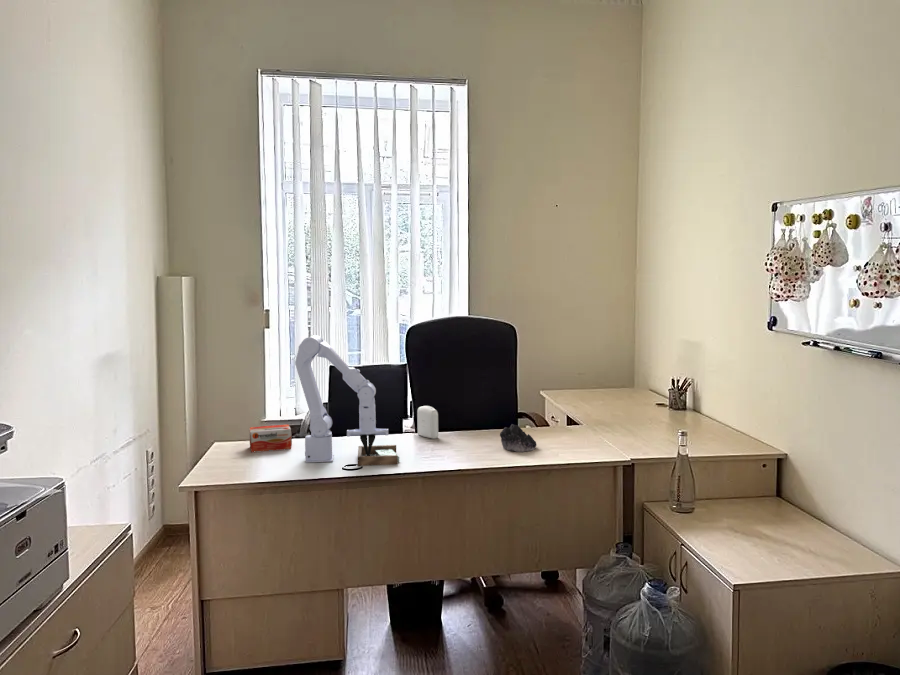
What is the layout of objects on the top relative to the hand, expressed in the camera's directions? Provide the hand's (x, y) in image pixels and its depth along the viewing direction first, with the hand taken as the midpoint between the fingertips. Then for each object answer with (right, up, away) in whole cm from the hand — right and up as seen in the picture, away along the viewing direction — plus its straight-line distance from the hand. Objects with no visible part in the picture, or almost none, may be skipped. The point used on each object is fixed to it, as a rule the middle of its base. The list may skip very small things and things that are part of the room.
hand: (368, 455), depth 248 cm
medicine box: (-39, 0, +17) cm, 42 cm away
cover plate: (+7, -2, +1) cm, 7 cm away
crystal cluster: (+55, 0, +15) cm, 57 cm away
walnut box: (+4, -1, +1) cm, 4 cm away
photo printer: (+20, +2, +34) cm, 40 cm away
